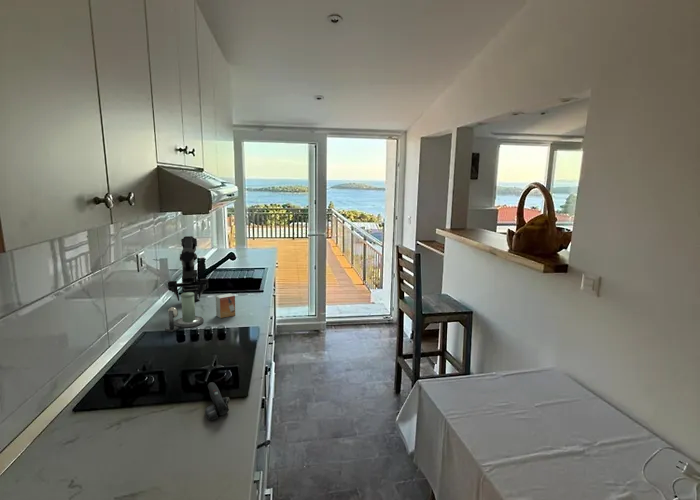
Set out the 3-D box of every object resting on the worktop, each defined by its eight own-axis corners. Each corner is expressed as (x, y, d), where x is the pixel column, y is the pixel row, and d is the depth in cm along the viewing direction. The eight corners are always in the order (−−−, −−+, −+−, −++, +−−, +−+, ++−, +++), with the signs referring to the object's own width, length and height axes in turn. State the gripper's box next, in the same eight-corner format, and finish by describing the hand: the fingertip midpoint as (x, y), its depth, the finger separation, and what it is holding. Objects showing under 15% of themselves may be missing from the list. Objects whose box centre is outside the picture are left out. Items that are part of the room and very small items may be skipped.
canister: (190, 317, 186) (189, 291, 184) (198, 319, 183) (196, 293, 180) (179, 320, 181) (178, 294, 179) (187, 323, 178) (185, 296, 176)
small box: (220, 318, 188) (219, 298, 187) (216, 315, 193) (215, 295, 191) (235, 315, 193) (235, 295, 192) (231, 312, 198) (230, 292, 196)
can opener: (232, 419, 110) (231, 401, 109) (206, 425, 107) (205, 407, 106) (223, 389, 126) (222, 373, 125) (200, 393, 123) (200, 377, 122)
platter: (193, 316, 191) (193, 313, 191) (209, 322, 184) (209, 319, 184) (168, 323, 180) (168, 321, 180) (184, 330, 173) (184, 327, 173)
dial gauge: (172, 332, 170) (170, 310, 168) (164, 330, 172) (162, 308, 170) (179, 329, 174) (178, 307, 172) (171, 327, 176) (170, 306, 174)
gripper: (166, 265, 186) (166, 293, 178) (207, 263, 193) (208, 290, 185) (169, 276, 195) (168, 304, 187) (207, 274, 201) (209, 300, 193)
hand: (188, 299), depth 188 cm, fingers open, 9 cm apart
